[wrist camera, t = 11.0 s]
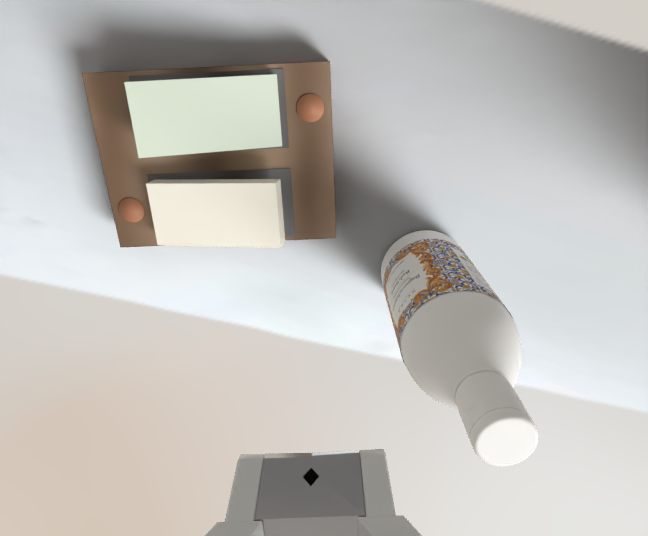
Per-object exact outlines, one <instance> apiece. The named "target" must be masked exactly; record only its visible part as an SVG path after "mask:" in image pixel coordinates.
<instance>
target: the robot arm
mask: <svg viewBox="0 0 648 536" xmlns="http://www.w3.org/2000/svg"><path fill="white" fill-rule="evenodd" d="M205 536H422V535H421V534H420V533H419V532H418V531H417V530H416V529H415V528H414V527H413V526H412V525H411V523H410V522H409V521H407V519H406V518H405V517H404V516H396V515H395V509H394V503H393V497H392V491H391V485H390V479H389V473H388V467H387V461H386V455H385V452H384V450H383V449H375V450H360V451H339V452H321V453H320V452H319V453H289V454H288V453H283V454H282V453H281V454H264V455H263V454H255V455H254V454H249V455H248V454H246V455H241V456H240V458H239V460H238V462H237V467H236V472H235V476H234V481H233V486H232V491H231V495H230V500H229V505H228V509H227V514H226V519H225V522H219V523H216V525H215V526H214V527H213V528H212V529H211V530H210V531H209V532H208V533H207V534H206V535H205Z"/></svg>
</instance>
